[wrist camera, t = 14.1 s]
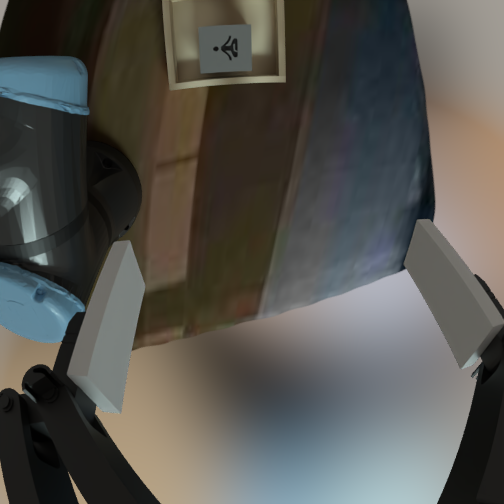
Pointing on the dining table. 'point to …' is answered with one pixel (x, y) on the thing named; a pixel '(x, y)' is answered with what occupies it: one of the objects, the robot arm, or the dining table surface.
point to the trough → (214, 14)
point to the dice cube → (225, 48)
